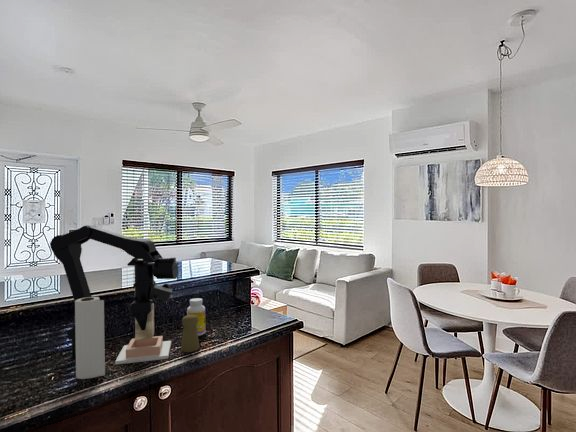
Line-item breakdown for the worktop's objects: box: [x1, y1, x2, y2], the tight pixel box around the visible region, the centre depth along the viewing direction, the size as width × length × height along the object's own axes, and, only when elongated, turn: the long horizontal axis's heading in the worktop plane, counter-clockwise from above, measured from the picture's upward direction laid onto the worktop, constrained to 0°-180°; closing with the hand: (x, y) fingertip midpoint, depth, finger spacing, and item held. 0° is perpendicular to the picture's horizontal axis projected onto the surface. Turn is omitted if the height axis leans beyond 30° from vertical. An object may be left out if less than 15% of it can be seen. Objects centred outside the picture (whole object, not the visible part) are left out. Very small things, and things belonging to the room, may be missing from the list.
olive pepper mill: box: [180, 314, 200, 353], centre depth 114 cm, size 6×6×11 cm
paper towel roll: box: [74, 296, 106, 380], centre depth 95 cm, size 7×6×21 cm
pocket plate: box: [114, 335, 172, 365], centre depth 110 cm, size 15×13×4 cm
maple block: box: [134, 303, 155, 340], centre depth 110 cm, size 5×5×10 cm
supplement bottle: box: [186, 297, 207, 337], centre depth 128 cm, size 7×7×13 cm
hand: (144, 327), depth 110 cm, fingers closed on maple block, 5 cm apart
